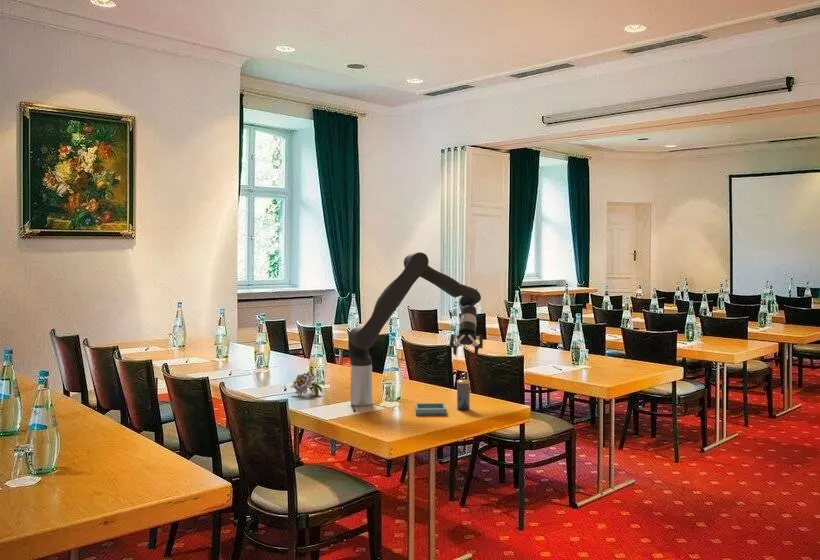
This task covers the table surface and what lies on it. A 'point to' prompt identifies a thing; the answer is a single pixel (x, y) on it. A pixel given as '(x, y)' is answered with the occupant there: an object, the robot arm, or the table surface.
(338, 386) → the table surface
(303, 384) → the passion flower
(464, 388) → the block
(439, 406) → the tray
